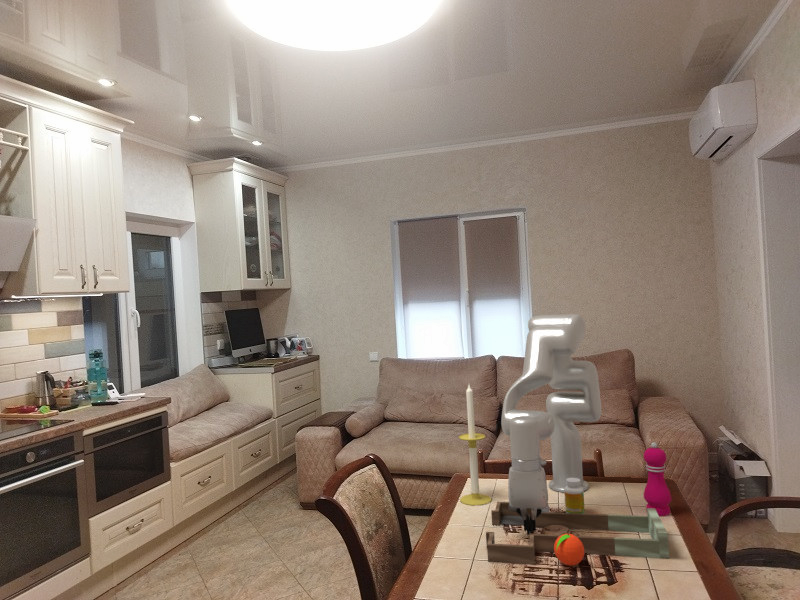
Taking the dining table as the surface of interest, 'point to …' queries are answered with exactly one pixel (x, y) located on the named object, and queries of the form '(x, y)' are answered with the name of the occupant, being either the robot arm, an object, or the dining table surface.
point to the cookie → (557, 530)
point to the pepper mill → (656, 481)
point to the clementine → (569, 549)
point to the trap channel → (591, 544)
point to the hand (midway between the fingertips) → (530, 533)
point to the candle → (473, 456)
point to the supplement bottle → (574, 496)
